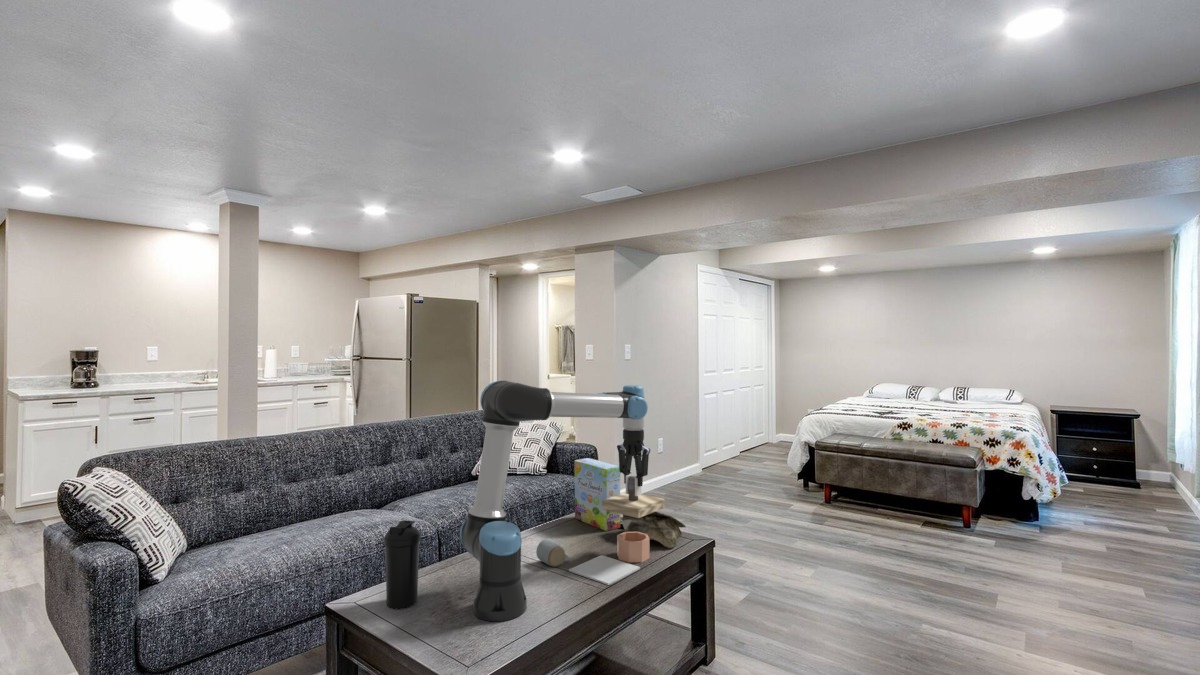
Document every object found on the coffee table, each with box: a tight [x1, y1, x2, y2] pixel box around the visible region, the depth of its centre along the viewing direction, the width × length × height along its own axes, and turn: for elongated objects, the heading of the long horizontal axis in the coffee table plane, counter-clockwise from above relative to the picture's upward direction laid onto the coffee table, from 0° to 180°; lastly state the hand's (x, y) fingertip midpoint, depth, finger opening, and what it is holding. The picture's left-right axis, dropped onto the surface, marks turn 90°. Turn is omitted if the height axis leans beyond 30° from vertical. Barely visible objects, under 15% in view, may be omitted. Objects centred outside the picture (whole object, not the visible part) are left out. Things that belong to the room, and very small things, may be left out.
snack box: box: [574, 457, 621, 532], centre depth 241 cm, size 22×9×26 cm, turn 41°
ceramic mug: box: [535, 538, 570, 568], centre depth 198 cm, size 11×8×8 cm
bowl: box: [616, 531, 651, 564], centre depth 204 cm, size 11×11×7 cm
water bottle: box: [383, 520, 422, 610], centre depth 167 cm, size 10×10×23 cm
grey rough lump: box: [621, 511, 687, 549], centre depth 221 cm, size 28×13×15 cm
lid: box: [602, 475, 666, 518], centre depth 204 cm, size 16×16×11 cm
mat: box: [568, 554, 641, 586], centre depth 192 cm, size 17×17×1 cm
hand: (633, 494), depth 204 cm, fingers closed on lid, 3 cm apart
